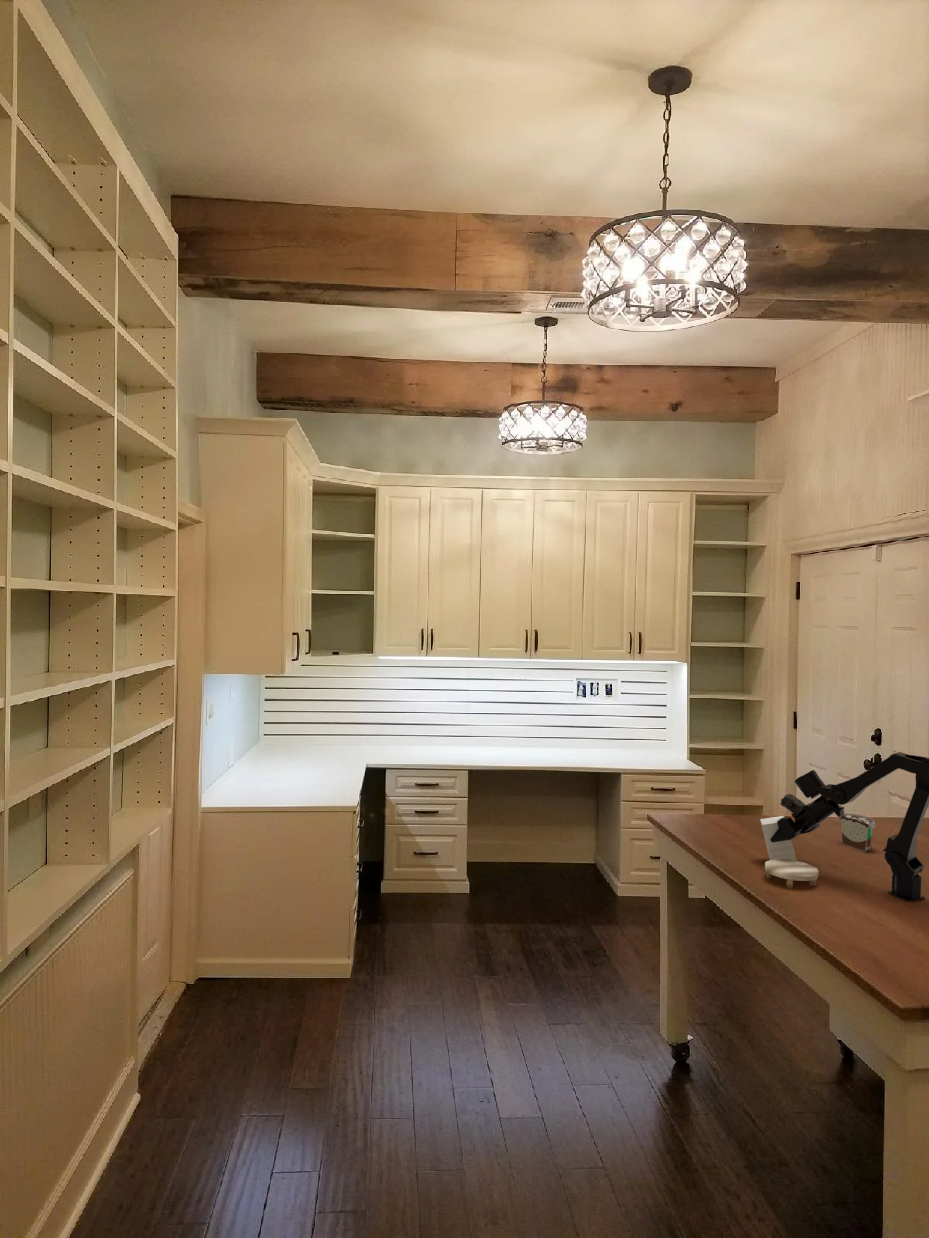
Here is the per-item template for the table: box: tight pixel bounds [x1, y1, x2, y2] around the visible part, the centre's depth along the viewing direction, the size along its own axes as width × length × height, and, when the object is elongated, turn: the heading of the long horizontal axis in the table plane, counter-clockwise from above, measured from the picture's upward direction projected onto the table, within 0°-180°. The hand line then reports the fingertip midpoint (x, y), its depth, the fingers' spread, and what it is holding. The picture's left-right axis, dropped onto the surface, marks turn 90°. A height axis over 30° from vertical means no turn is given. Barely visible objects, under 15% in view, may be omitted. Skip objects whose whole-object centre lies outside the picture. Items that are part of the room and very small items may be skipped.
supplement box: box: [759, 815, 797, 861], centre depth 240 cm, size 7×7×13 cm
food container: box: [838, 812, 876, 853], centre depth 259 cm, size 12×6×10 cm, turn 22°
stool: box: [764, 859, 819, 889], centre depth 224 cm, size 14×14×4 cm
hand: (777, 838), depth 240 cm, fingers closed on supplement box, 9 cm apart
